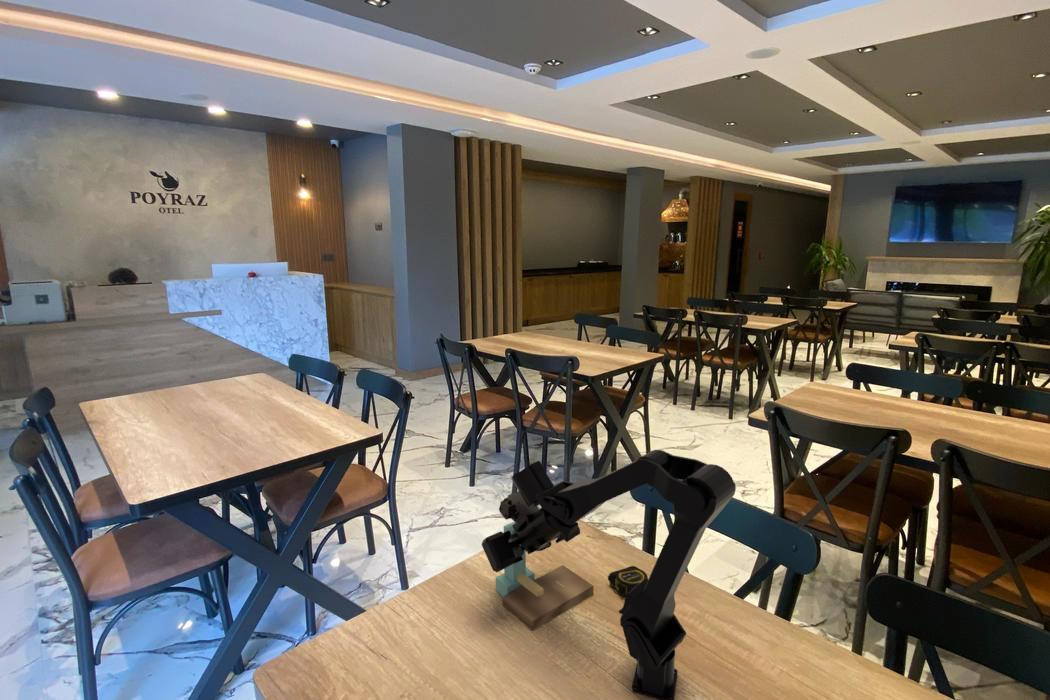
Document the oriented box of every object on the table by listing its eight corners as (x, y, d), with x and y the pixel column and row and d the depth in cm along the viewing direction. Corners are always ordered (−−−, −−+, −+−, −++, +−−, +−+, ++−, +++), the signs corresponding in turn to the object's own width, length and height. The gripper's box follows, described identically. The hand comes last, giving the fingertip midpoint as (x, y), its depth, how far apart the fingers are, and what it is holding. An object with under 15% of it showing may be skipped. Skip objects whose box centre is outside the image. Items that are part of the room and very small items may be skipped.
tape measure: (634, 577, 113) (635, 561, 112) (654, 596, 107) (655, 579, 106) (607, 585, 110) (607, 569, 110) (626, 605, 104) (626, 588, 103)
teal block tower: (526, 616, 101) (526, 550, 98) (495, 590, 109) (494, 528, 106) (554, 601, 105) (554, 536, 103) (522, 577, 113) (521, 516, 110)
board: (532, 630, 98) (532, 620, 97) (503, 605, 104) (502, 595, 104) (593, 594, 107) (593, 585, 107) (562, 573, 114) (562, 564, 114)
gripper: (562, 471, 107) (528, 502, 118) (486, 500, 96) (455, 530, 106) (590, 523, 103) (551, 549, 113) (513, 559, 91) (479, 585, 102)
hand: (510, 552), depth 109 cm, fingers closed on teal block tower, 3 cm apart
